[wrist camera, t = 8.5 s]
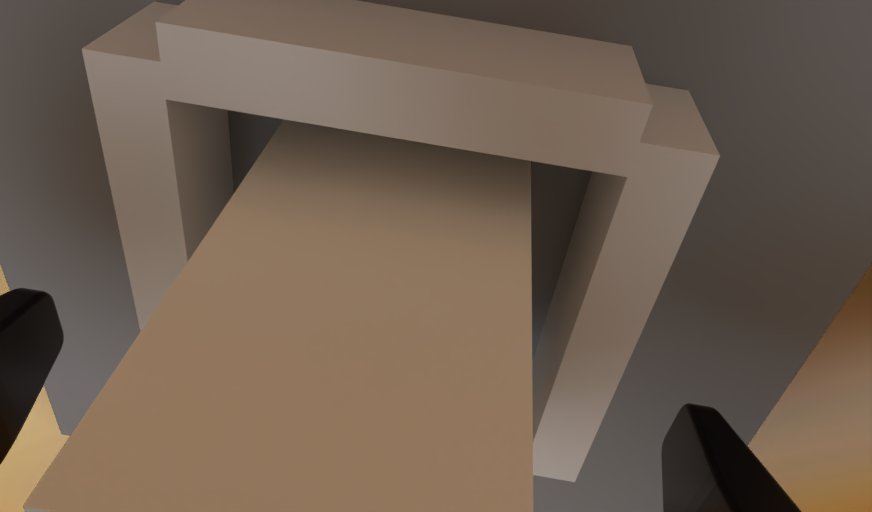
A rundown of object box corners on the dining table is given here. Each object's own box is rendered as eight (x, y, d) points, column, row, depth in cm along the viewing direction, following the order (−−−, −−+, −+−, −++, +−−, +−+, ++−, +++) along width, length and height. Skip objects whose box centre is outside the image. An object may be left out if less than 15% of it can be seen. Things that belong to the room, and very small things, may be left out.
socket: (1152, -250, 8) (1433, -253, 5) (674, 506, 17) (697, 624, 15) (-189, -463, 8) (-501, -560, 5) (82, 403, 18) (12, 504, 15)
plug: (531, 154, 11) (535, 715, 4) (490, 332, 13) (454, 851, 7) (286, 116, 11) (-49, 611, 4) (290, 299, 13) (78, 784, 7)
